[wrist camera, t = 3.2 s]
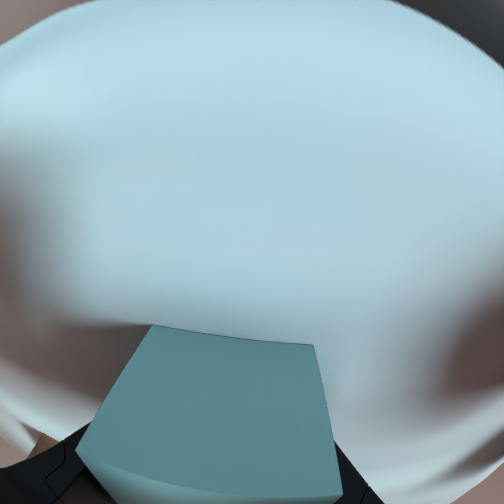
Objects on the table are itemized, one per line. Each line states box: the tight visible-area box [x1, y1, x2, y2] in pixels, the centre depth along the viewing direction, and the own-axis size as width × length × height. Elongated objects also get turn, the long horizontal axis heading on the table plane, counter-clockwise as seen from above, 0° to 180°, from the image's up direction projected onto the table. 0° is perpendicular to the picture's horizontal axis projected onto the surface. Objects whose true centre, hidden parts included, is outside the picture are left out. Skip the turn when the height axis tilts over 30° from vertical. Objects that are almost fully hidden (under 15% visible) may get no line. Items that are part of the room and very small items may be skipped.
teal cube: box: [75, 325, 343, 504], centre depth 6 cm, size 5×5×5 cm
